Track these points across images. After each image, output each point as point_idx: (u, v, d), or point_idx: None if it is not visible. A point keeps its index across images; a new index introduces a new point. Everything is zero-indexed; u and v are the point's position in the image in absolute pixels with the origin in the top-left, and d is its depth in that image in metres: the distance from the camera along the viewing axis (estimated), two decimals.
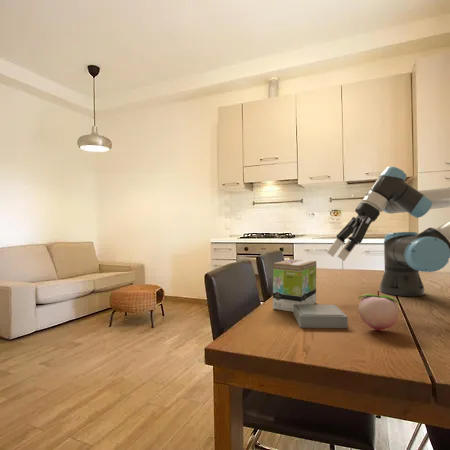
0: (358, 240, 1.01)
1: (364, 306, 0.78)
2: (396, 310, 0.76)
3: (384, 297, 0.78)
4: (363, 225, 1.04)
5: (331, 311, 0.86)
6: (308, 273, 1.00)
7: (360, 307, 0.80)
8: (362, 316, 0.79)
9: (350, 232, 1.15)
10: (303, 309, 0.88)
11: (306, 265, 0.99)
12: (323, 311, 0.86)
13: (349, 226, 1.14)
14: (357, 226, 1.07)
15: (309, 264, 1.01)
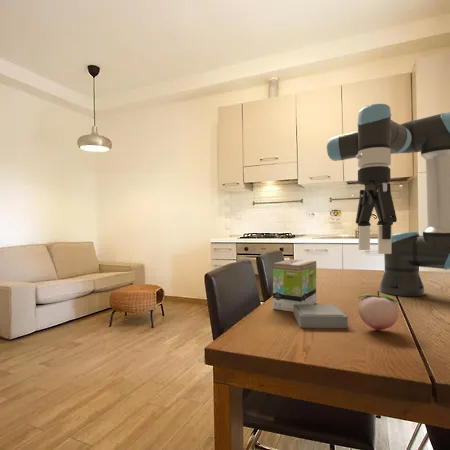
0: (392, 220, 0.70)
1: (364, 306, 0.78)
2: (396, 310, 0.76)
3: (384, 297, 0.78)
4: (384, 197, 0.73)
5: (331, 311, 0.86)
6: (308, 273, 1.00)
7: (360, 307, 0.80)
8: (362, 316, 0.79)
9: (370, 210, 0.84)
10: (303, 309, 0.88)
11: (306, 265, 0.99)
12: (323, 311, 0.86)
13: (364, 205, 0.83)
14: (376, 201, 0.76)
15: (309, 264, 1.01)
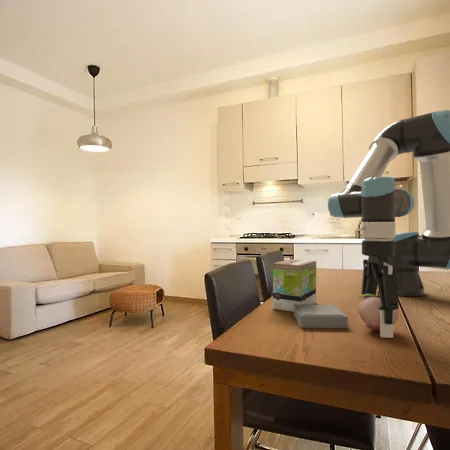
0: (394, 307, 0.71)
1: (364, 306, 0.78)
2: (396, 310, 0.76)
3: None
4: (388, 282, 0.72)
5: (331, 311, 0.86)
6: (308, 273, 1.00)
7: (360, 307, 0.80)
8: (362, 316, 0.79)
9: (375, 282, 0.82)
10: (303, 309, 0.88)
11: (306, 265, 0.99)
12: (323, 311, 0.86)
13: (369, 276, 0.81)
14: (380, 280, 0.76)
15: (309, 264, 1.01)
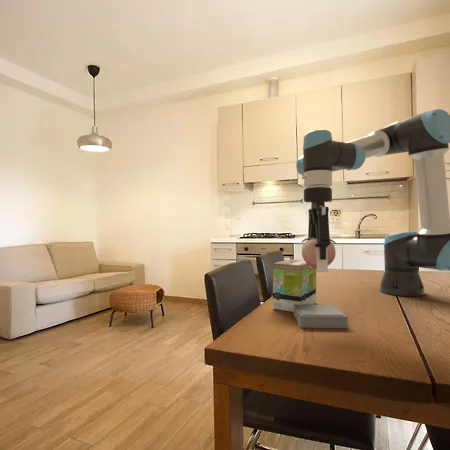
0: (326, 243, 0.80)
1: (305, 247, 0.87)
2: (332, 249, 0.85)
3: None
4: (322, 221, 0.81)
5: (331, 311, 0.86)
6: (308, 273, 1.00)
7: (302, 249, 0.88)
8: (303, 257, 0.88)
9: None
10: (303, 309, 0.88)
11: (306, 265, 0.99)
12: (323, 311, 0.86)
13: (311, 222, 0.90)
14: (317, 222, 0.85)
15: None
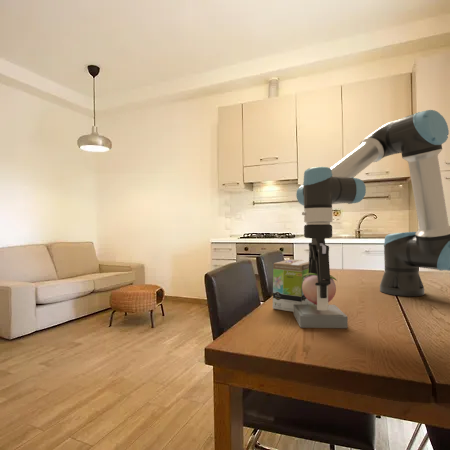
0: (326, 282, 0.80)
1: (305, 283, 0.87)
2: (332, 286, 0.85)
3: None
4: (322, 260, 0.81)
5: (331, 311, 0.86)
6: None
7: (303, 285, 0.88)
8: (304, 293, 0.88)
9: None
10: (303, 309, 0.88)
11: (306, 265, 0.99)
12: (323, 311, 0.86)
13: (312, 257, 0.90)
14: (317, 259, 0.85)
15: None
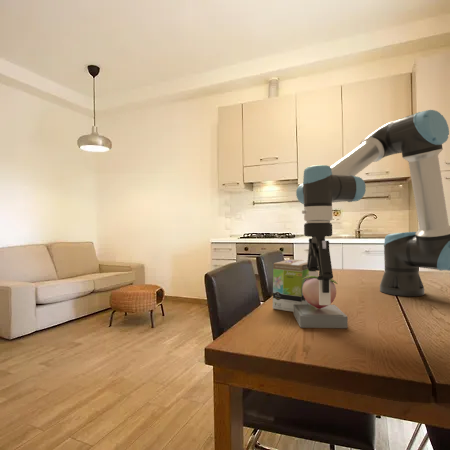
0: (328, 276, 0.78)
1: (305, 286, 0.87)
2: (333, 290, 0.85)
3: None
4: (323, 254, 0.80)
5: (331, 311, 0.86)
6: (308, 273, 1.00)
7: (303, 288, 0.88)
8: (304, 296, 0.88)
9: (317, 258, 0.92)
10: (303, 309, 0.88)
11: (306, 265, 0.99)
12: (323, 311, 0.86)
13: (311, 254, 0.91)
14: (318, 255, 0.84)
15: None
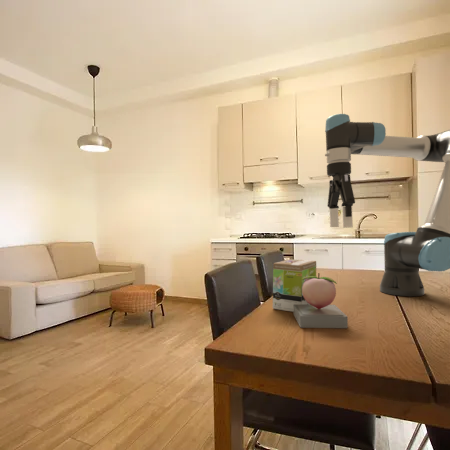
0: (351, 202, 0.95)
1: (305, 286, 0.87)
2: (332, 289, 0.85)
3: (323, 278, 0.87)
4: (346, 185, 0.97)
5: (331, 311, 0.86)
6: (308, 273, 1.00)
7: (303, 288, 0.88)
8: (304, 296, 0.88)
9: (337, 196, 1.09)
10: (303, 309, 0.88)
11: (306, 265, 0.99)
12: (323, 311, 0.86)
13: (333, 191, 1.08)
14: (340, 188, 1.01)
15: (309, 264, 1.01)
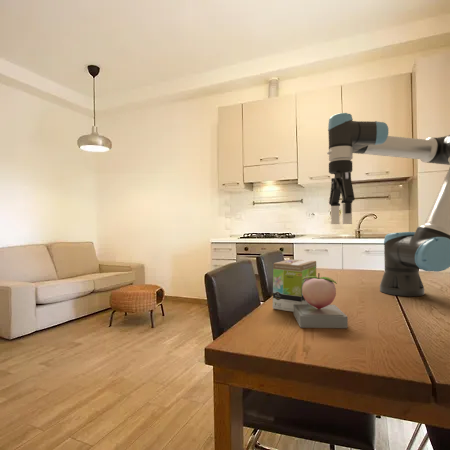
0: (351, 198, 0.97)
1: (305, 286, 0.87)
2: (332, 289, 0.85)
3: (323, 278, 0.87)
4: (346, 183, 0.99)
5: (331, 311, 0.86)
6: (308, 273, 1.00)
7: (303, 288, 0.88)
8: (304, 296, 0.88)
9: (339, 193, 1.11)
10: (303, 309, 0.88)
11: (306, 265, 0.99)
12: (323, 311, 0.86)
13: (334, 189, 1.10)
14: (341, 186, 1.03)
15: (309, 264, 1.01)
